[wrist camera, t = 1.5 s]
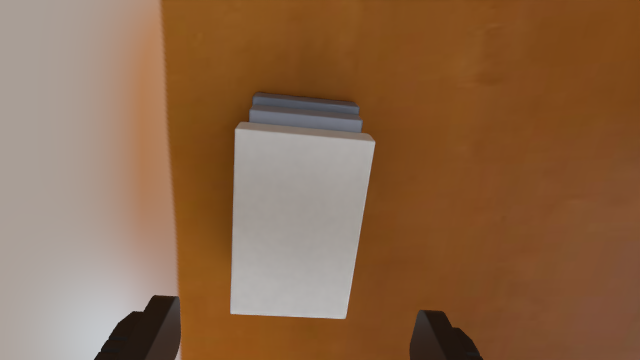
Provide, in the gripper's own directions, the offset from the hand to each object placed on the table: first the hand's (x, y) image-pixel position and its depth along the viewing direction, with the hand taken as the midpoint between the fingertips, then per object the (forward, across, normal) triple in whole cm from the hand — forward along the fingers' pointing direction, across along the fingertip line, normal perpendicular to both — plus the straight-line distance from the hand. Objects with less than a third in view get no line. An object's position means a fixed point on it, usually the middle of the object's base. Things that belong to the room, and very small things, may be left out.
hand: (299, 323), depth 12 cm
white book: (+7, 0, 0) cm, 7 cm away
